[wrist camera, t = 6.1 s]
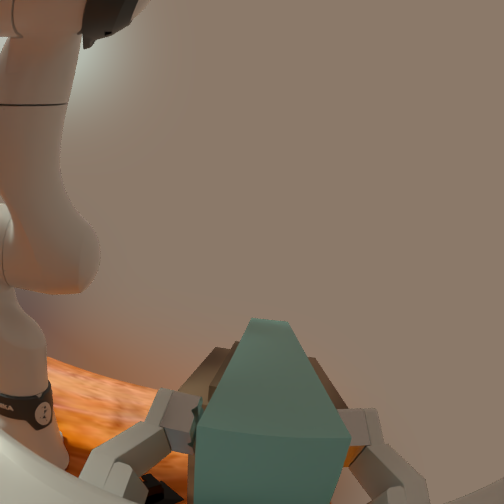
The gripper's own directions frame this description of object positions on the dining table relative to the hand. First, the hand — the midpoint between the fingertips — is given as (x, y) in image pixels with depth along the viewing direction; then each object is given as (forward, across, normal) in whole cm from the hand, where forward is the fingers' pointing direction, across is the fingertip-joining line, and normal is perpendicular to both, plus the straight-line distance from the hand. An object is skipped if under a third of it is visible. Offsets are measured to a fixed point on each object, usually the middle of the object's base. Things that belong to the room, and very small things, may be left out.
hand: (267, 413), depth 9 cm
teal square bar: (+5, 0, +6) cm, 8 cm away
